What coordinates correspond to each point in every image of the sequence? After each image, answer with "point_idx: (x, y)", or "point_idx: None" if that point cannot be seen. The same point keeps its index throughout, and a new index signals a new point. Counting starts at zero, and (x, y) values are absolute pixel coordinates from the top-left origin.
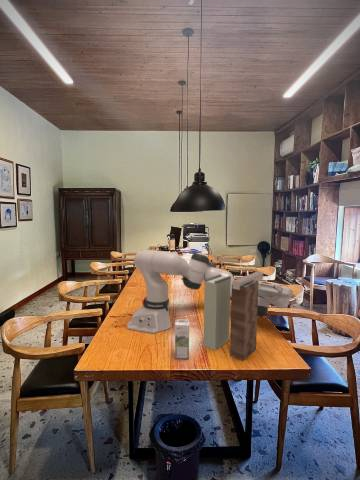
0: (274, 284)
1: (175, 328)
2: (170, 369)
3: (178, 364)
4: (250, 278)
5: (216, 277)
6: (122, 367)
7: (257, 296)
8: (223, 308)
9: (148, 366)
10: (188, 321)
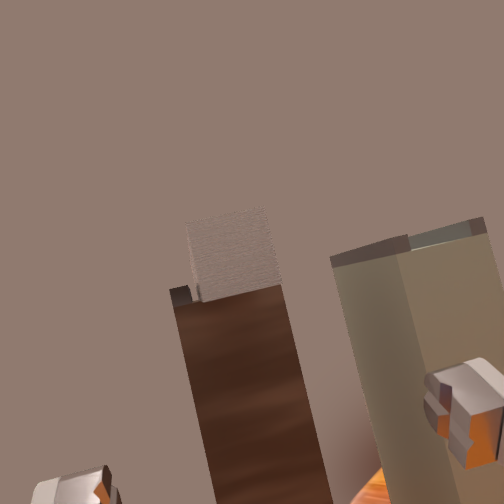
0: (94, 469)
1: None
2: (367, 483)
3: (381, 499)
4: (190, 259)
5: (435, 239)
6: None
7: (196, 407)
8: (403, 436)
9: None
10: None
